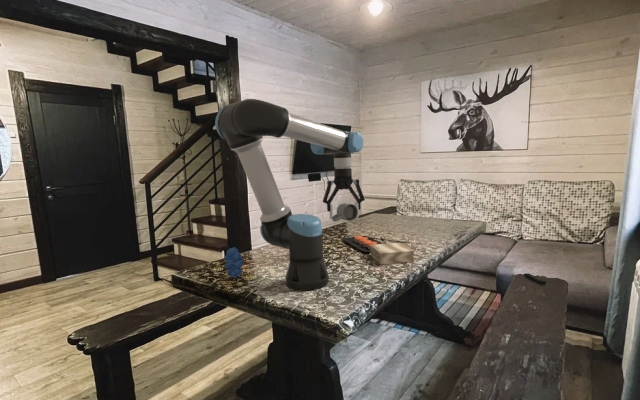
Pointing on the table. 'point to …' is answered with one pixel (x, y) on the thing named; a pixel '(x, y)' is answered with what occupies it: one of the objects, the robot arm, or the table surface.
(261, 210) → the robot arm
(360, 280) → the table surface
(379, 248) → the birch block
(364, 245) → the sushi plate
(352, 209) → the ceramic mug
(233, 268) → the grapes
